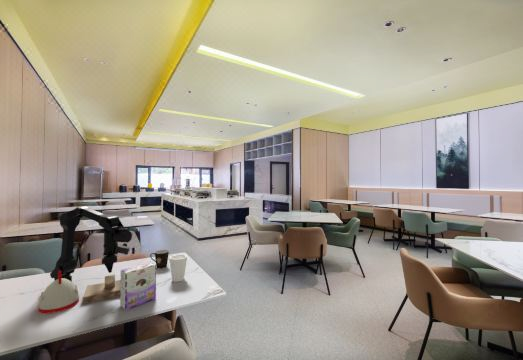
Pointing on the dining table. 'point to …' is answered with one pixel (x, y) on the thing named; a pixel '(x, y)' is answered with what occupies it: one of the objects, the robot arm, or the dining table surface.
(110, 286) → the peg
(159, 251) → the coffee mug
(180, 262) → the foam cup
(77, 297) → the kitchen timer
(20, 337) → the dining table surface
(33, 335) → the dining table surface
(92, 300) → the board
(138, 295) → the candy box
